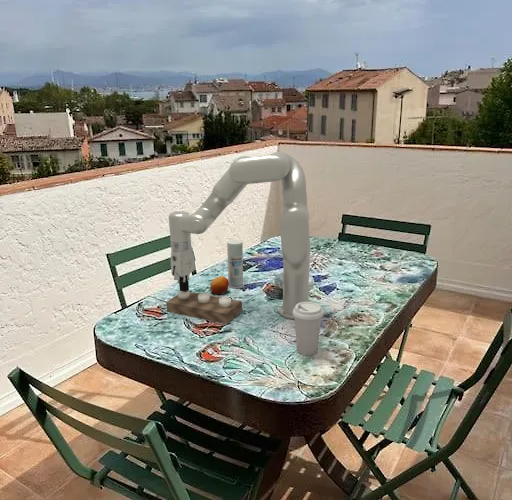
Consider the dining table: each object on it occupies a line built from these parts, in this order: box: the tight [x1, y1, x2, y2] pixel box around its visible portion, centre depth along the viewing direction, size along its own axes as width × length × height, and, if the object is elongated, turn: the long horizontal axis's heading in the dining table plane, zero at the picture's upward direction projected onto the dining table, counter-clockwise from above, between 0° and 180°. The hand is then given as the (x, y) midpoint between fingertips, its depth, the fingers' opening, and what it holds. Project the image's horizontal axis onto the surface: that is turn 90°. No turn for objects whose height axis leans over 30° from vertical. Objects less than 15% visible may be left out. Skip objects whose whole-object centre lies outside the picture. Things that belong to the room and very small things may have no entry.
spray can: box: [226, 239, 244, 290], centre depth 195 cm, size 6×6×20 cm
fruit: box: [209, 275, 229, 295], centre depth 191 cm, size 8×8×8 cm
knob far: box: [177, 289, 190, 300], centre depth 176 cm, size 4×4×5 cm
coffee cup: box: [292, 301, 324, 356], centre depth 143 cm, size 10×10×15 cm
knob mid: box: [198, 292, 211, 304], centre depth 173 cm, size 4×4×5 cm
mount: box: [165, 291, 243, 325], centre depth 173 cm, size 26×12×4 cm, turn 65°
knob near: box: [219, 296, 231, 308], centre depth 169 cm, size 4×4×5 cm
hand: (184, 290), depth 175 cm, fingers closed
